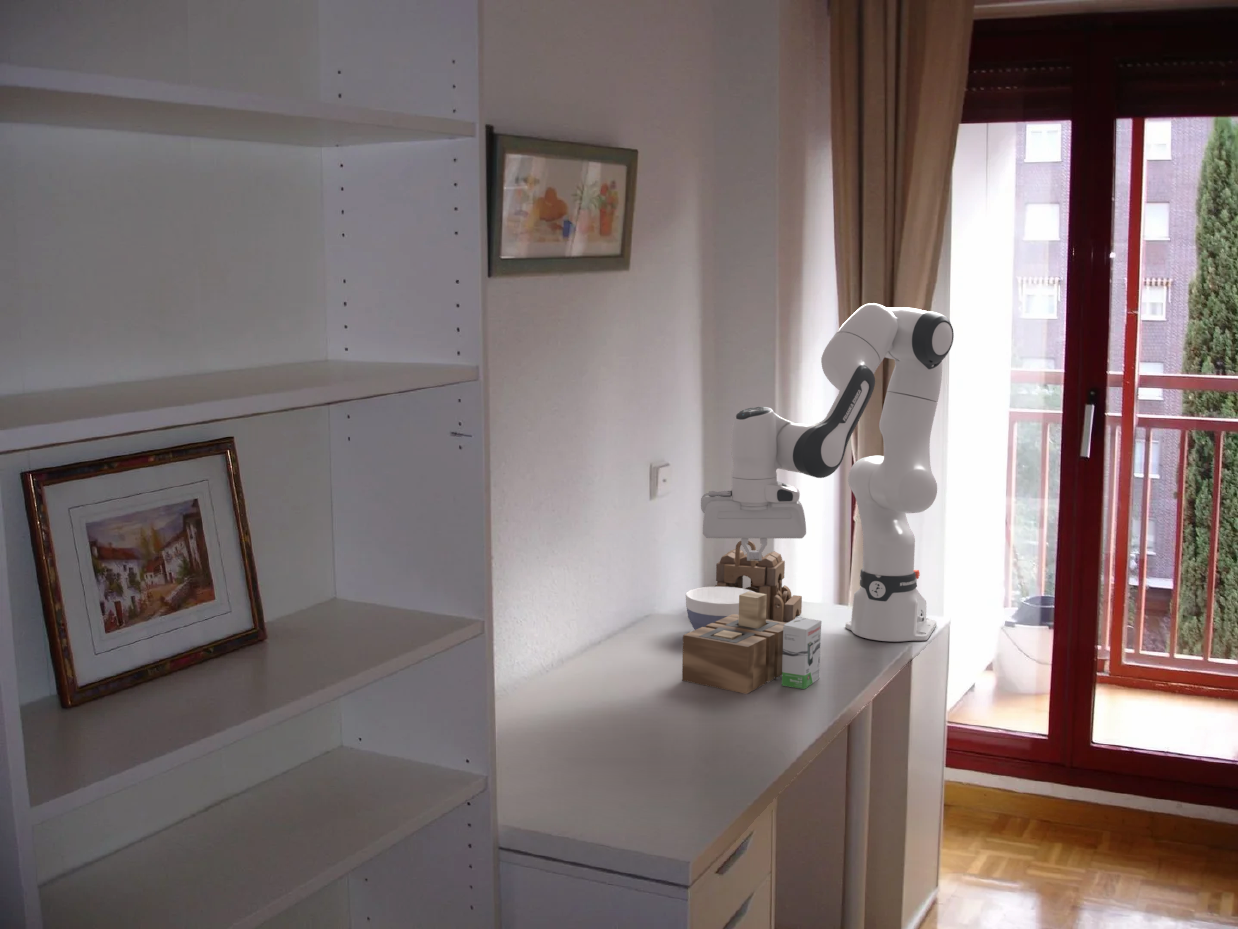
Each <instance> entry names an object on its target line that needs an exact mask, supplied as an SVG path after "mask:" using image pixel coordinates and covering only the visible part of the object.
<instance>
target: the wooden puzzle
mask: <svg viewBox="0 0 1238 929" xmlns="http://www.w3.org/2000/svg"><path fill="white" fill-rule="evenodd" d="M741 546H742V544H741V540H740V541H738V542H736V545H735V548H734V549H732V550H729V551H728V552H726V553H725V554H724V555H722V556H721V558H720V559H719V561H718V562H717V563H716V565H715V566H716V568H715V569H716V570H715V572H716V573H715V581H716V584H715V585H714V586H713V587H735V588H742V589H747V590H751V591H753V592H756V593H762V594H767V600H766V620H772V621H778V622H784V623H788V622H790V621H792V620H794V619H796V616H799V617H800V615H801V614H802V607H803V603H802V602H803V600H802V599H803V597H802V595H795V594H794V595H792V592H791V589H790V588H789V587H788V586H787V585H783V579H784V578H785V566H786V564H785V563H786V562H785V560H783V557H782V555H781V553H778V552H777V551H771V552H769V553H767V554H765V555H764V556H763V555H762V561H747V553H745V552H744V551H743V550H741ZM747 546H749V548H750V550H757V547H756V545H755V543H754V542H753V541H752V540H749V539H748V544H747ZM744 576H745V577H747V578H749V579H750V586H747V587H745V588H743V587H744V578H743V577H744Z"/></svg>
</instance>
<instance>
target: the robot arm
mask: <svg viewBox="0 0 1238 929" xmlns="http://www.w3.org/2000/svg"><path fill="white" fill-rule="evenodd" d="M954 337H955V336H954V327H953V326H952V324H951V320H950V319H949V318H948V317H947V316H945V315H943V314H942V313H939V312H936V311H932V310H930V311H929V310H928V311H927V310H924V309H923V310H922V309H919V308H914V307H886V306H884V305H882V304H879V303H875V302H873V303H870V302H869V303H866V304H864V305H862V306H860V307H859V308H858V309H857V310H856V311H855V312H853V314H851V315H850V316H849V317H848V318H847V320H845V321H844V323H842V325H841V326H840V327H839V329H838V330H837V331H836V332H835V333H834V335H833V337H832V338H830V340H829V341H828V343H827V345H826V346H825V348H824V350H823V353H822V354H821V357H820V358H821V359H820V360H821V367H822V368H821V369H822V372H823V374H824V376H825V377H826V379H827V381H829V383H830V384H831V385H832V386H833V387H835V389H837V390H838V394H837V396H836V397H835V399H834V402H833V403H832V405H831V407H830V409H829V411H828V412H827V414H826V416H825V417H824V419H822V420H821V421H819V422H816V423H813V424H808V423H799V422H794V421H791V420H788V419H785V418H783V417H781V416H779V414H777V413H776V412H774V410H773V409H772V408H771V407H767V406H756V407H749V408H745V409H741V410H740V411H739V412H738V413H736V415H735V417H734V419H733V422H732V428H731V437H730V438H731V441H730V442H731V444H730V445H731V446H730V448H731V449H730V450H731V451H730V454H731V457H732V462H733V465H732V466H733V467H732V471H731V486H730V487H731V490H721V491H716V490H710V491H708V492H705V494H703V495H702V496H701V498H700V508H701V511H702V513H703V514H704V515H703V524H702V534H703V536H704V537H705V538H706V539H740V541H741V544H742V545H741V546H742V548H743V549H744V551H745V553H746V554H747V561H762V556H763V555H762V554H763V551H765V549H766V547H767V545H768V539H803V538H804V537H805V536H806V535H807V525H806V516H805V511H804V507H803V504H802V503H801V501H800V495H801V494H800V491H799V489H798V488H797V486H795V485H794V486H793V485H791V484H787V483H783V482H780V481H778V478H777V476H778V472H777V470H778V469H779V470H784V471H788V472H792V473H794V472H795V473H800V474H804V475H807V476H810V477H812V478H818V479H823V478H826V477H829V476H831V475H833V473H835V472H836V470H838V468H839V467H840V465H841V464H842V462H843V460H844V456H845V454H846V450H847V446H848V443H849V441H850V439H851V436H852V435H853V433H854V431H855V429H856V427H857V426H858V423H859V421H860V420H861V417H862V415H863V413H864V412H865V409H866V408H867V405H868V403H869V402H870V399H871V397H872V395H873V393H874V391H875V390H874V389H875V385H876V378H875V373H876V371H877V369H878V367H879V366H880V365H881V363H882V362H883V361H884V359H885V358H886V359H890V360H894V368H893V370H892V373H891V376H890V379H889V381H888V386H887V389H886V394H885V398H884V403H883V406H882V411H881V414H880V418H879V423H878V426H879V427H878V428H879V431H880V434H881V436H882V440H883V455H870V456H865V457H862V458H859V459H858V460H857V461H855V462H854V463H853V464H852V466H851V467H850V470H849V472H848V480H847V481H848V485H849V487H850V490H851V492H852V493H853V496H854V497H855V500H856V503H857V509H858V513H859V517H860V524H861V529H862V530H861V531H862V568H861V569H860V573H859V586H860V588H859V589H858V590H856V591H855V592H854V593H853V599H852V608H851V617H850V618H851V619H850V621H847V622H845V627H844V628H845V629H847V630H850V631H851V632H852V633H853V634H854V635H856V636H857V637H860V638H865V639H868V640H873V641H880V642H881V641H882V642H908V641H927V640H929V638H930V637H931V635H932V633H933V631H934V630H935V629H936V626H937V621H936V620H934V619H930V618H927V600H926V599H925V598H924V597H923V596H922V594H921V593H920V592H919V591H918V589H917V587H918V585H917V582H918V579H919V578H920V575H921V574H920V570H919V569H915V568H914V567H915V550H916V549H915V547H916V545H915V544H916V538H915V535H914V533H913V530H912V529H911V527H910V525H909V523H908V519H907V515H906V514H916V513H917V514H918V513H923V512H925V511H926V510H928V509H929V508H930V507H931V506H932V505H933V504H934V502H935V500H936V498H937V493H938V483H937V480H936V478H935V476H934V474H933V472H932V466H931V456H930V452H931V450H930V449H931V448H930V445H931V444H930V443H931V434H932V433H931V432H932V429H933V424H934V419H935V415H936V411H937V406H938V402H939V398H940V393H941V386H942V380H943V379H942V378H943V360H944V359H945V358H946V356H948V354H949V353H950V350H951V348H952V346H953V343H954ZM749 539H759V542H760V544H761V545H760V547H759V548H758V550H757V549H756V550H751V548H750V546H749V545H747V544H748V540H749Z"/></svg>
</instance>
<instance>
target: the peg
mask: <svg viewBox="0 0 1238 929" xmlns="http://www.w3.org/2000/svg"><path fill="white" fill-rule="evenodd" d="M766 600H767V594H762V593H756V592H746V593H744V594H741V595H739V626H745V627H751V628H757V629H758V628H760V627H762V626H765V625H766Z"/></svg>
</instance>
